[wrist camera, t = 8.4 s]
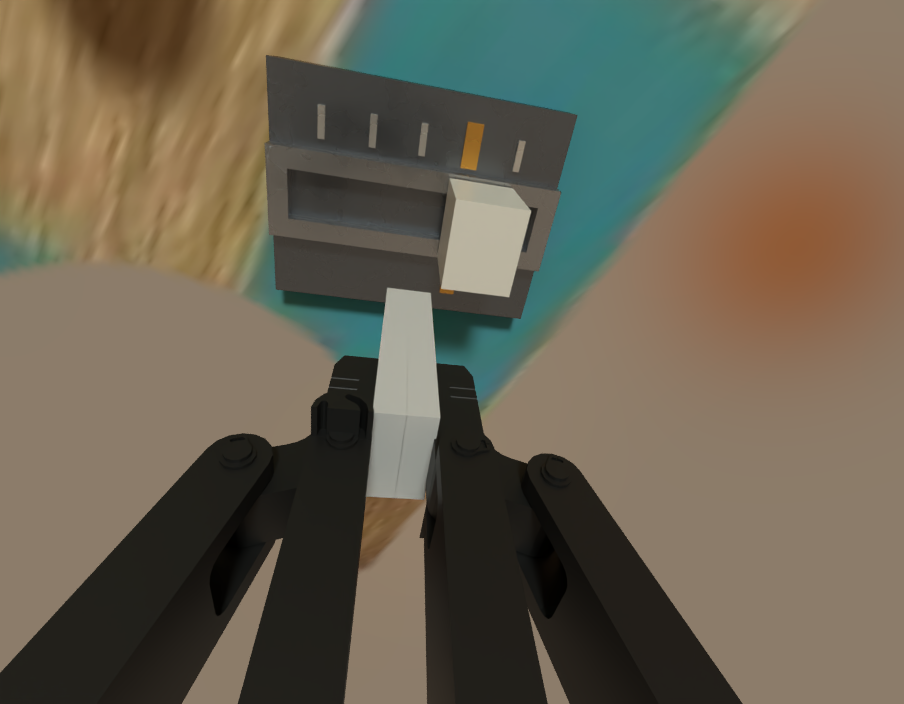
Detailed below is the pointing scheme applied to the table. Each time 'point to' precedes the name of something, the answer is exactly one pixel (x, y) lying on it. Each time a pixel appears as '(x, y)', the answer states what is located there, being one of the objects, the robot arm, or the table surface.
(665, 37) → the table surface
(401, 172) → the console
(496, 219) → the fader tab
